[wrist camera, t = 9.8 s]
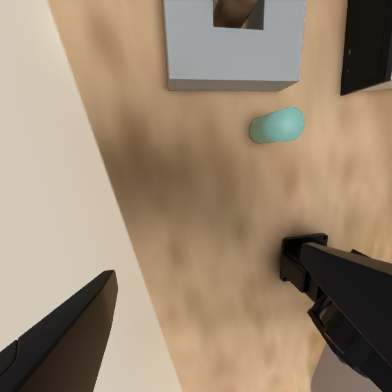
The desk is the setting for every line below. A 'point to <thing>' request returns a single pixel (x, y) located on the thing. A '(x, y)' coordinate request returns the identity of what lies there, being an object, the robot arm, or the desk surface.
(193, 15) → the block
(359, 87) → the disc drive
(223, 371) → the desk surface
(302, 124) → the teal pin
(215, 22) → the walnut pin
